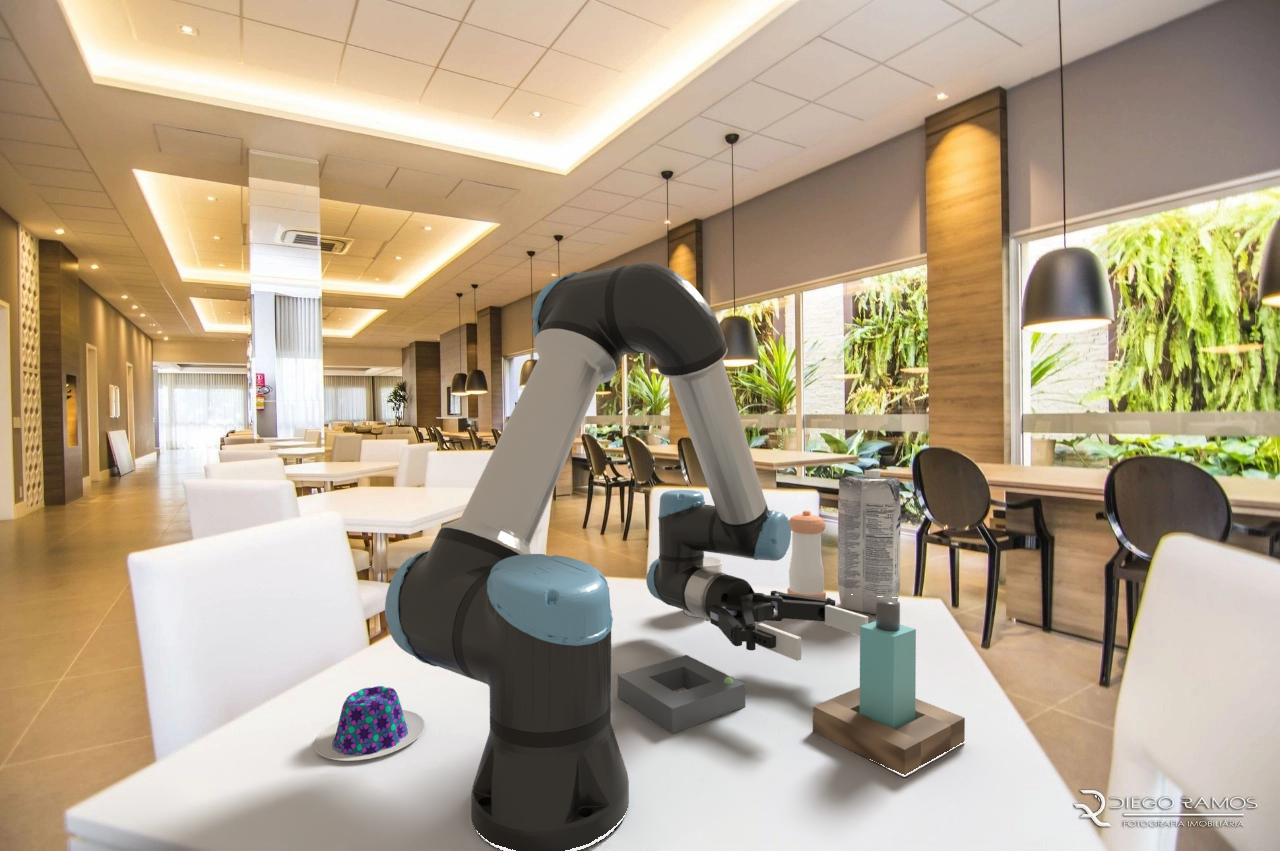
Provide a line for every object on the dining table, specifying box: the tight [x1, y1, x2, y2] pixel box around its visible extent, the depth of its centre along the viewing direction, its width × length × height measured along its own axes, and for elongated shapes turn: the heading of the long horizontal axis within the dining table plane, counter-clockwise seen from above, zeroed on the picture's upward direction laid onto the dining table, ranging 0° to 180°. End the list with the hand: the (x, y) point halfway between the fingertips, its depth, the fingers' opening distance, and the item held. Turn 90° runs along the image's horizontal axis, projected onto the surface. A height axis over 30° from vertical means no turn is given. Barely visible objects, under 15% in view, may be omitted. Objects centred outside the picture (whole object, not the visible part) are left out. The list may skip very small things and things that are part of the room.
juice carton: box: [837, 469, 901, 616], centre depth 123 cm, size 9×10×27 cm
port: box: [616, 654, 746, 734], centre depth 83 cm, size 12×12×4 cm
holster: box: [812, 686, 966, 775], centre depth 74 cm, size 12×12×3 cm
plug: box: [859, 599, 917, 730], centre depth 74 cm, size 4×4×16 cm
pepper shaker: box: [786, 510, 827, 599], centre depth 123 cm, size 7×7×19 cm
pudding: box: [314, 685, 426, 762], centre depth 74 cm, size 12×12×5 cm
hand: (834, 637), depth 80 cm, fingers open, 13 cm apart
